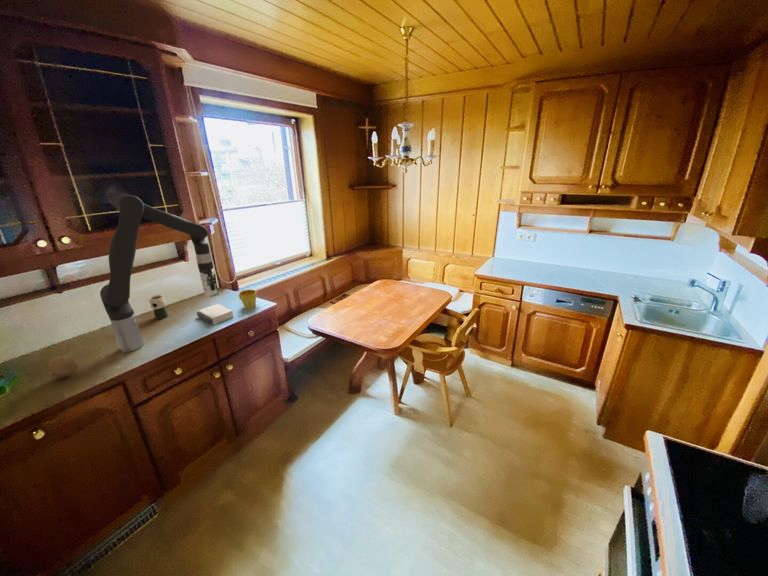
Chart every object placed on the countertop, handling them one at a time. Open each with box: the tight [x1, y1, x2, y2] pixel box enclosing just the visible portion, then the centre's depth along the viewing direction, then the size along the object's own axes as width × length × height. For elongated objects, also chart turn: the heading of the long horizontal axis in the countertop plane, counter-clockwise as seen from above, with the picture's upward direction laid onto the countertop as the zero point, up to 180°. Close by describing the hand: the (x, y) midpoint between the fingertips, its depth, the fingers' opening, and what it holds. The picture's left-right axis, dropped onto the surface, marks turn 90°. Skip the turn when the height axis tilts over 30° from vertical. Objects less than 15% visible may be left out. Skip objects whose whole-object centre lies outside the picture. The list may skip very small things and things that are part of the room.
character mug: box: [148, 294, 168, 320], centre depth 184 cm, size 11×7×13 cm, turn 68°
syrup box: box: [199, 270, 220, 299], centre depth 180 cm, size 6×6×14 cm
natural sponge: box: [46, 355, 79, 379], centre depth 134 cm, size 9×9×10 cm
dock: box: [196, 303, 234, 325], centre depth 187 cm, size 13×16×4 cm
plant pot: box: [238, 289, 258, 309], centre depth 200 cm, size 10×10×10 cm
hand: (210, 288), depth 181 cm, fingers closed on syrup box, 6 cm apart
